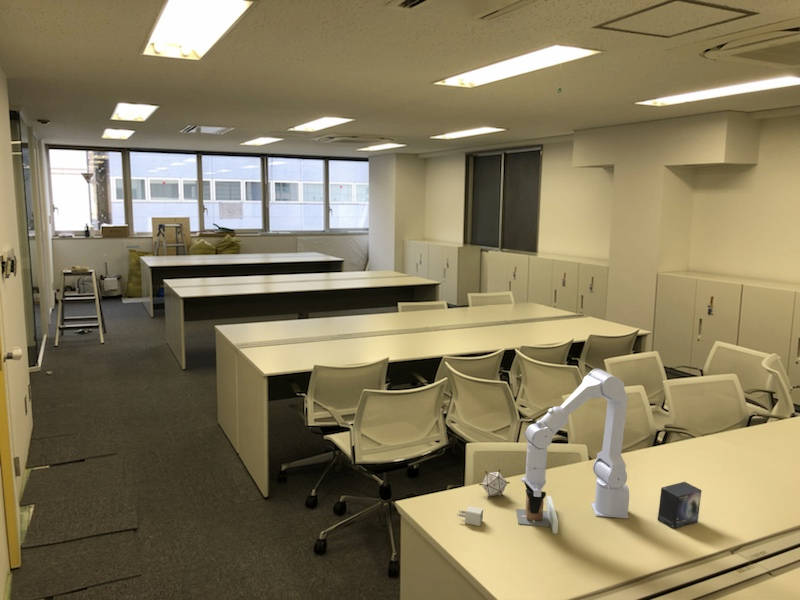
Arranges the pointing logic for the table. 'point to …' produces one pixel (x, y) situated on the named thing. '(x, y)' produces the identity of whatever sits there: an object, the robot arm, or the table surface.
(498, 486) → the game die
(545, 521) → the pad
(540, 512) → the walnut block
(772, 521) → the table surface
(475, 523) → the usb wall charger
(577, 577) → the table surface
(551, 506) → the frosted wall
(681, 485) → the small box
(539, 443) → the robot arm
